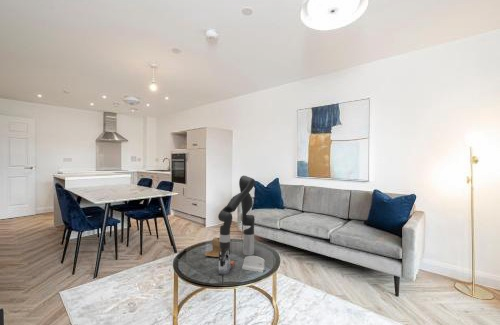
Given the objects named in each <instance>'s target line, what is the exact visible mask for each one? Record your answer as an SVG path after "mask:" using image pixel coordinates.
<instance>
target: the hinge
mask: <svg viewBox="0 0 500 325" xmlns="http://www.w3.org/2000/svg"><path fill="white" fill-rule="evenodd" d="M241 270H247V271H251V272H257V271H258V273H264V271H266V260H265V259H264V258H262V257H260V256H256V255H246V256H245V257H244V261H243V264H242V269H241Z"/></svg>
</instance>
